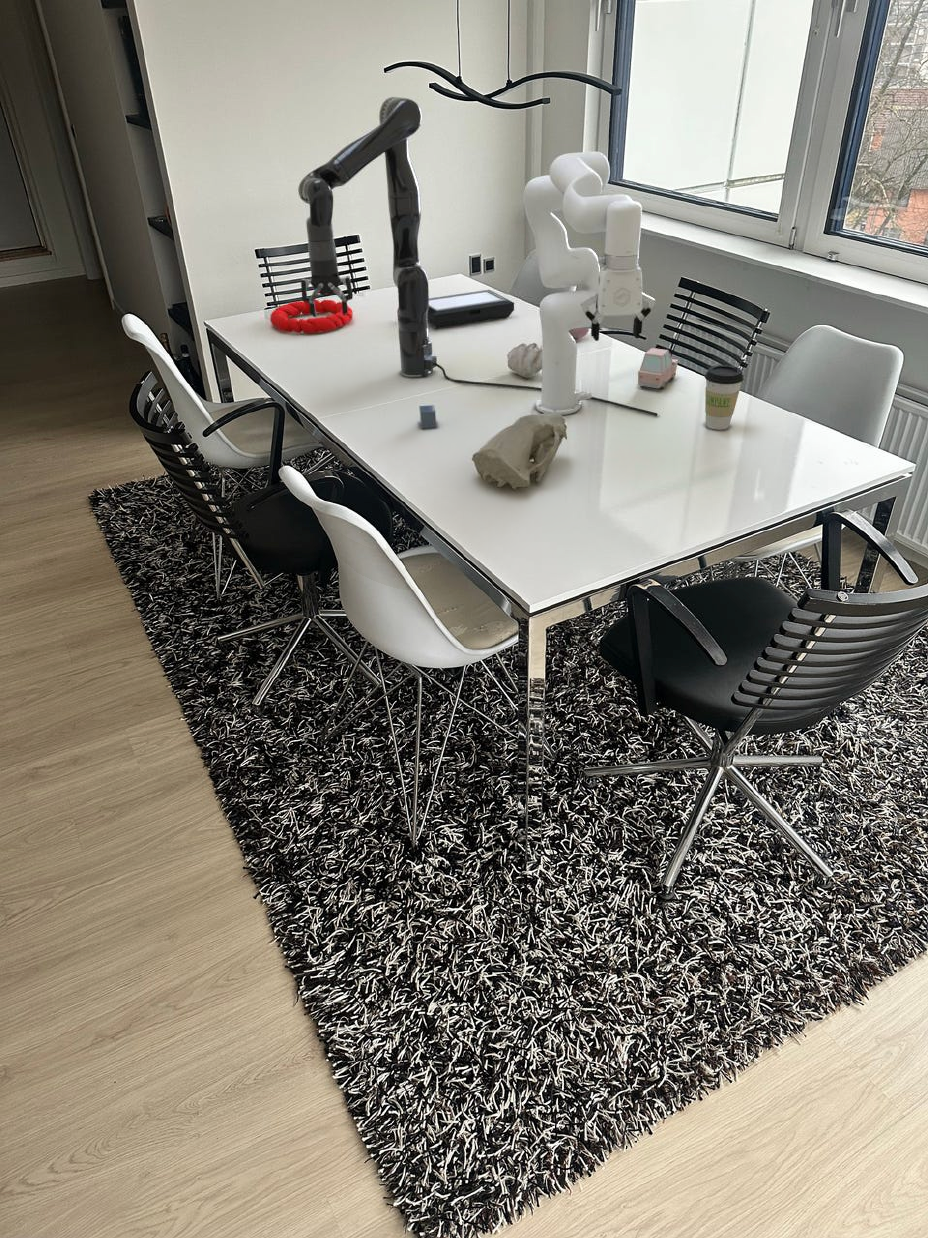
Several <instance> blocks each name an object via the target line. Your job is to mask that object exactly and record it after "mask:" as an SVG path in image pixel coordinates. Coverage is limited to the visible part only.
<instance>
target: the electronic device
mask: <svg viewBox="0 0 928 1238" xmlns="http://www.w3.org/2000/svg"><path fill="white" fill-rule="evenodd" d="M514 311H515V302H513V301H511V300H510V299H508V298H506V297H504V296H502V295H500V294H498V293H497V292H495V291H492V290H491V289H484V290H477V291H470V292H464V293H458V294H457V293H456V294H451V295H444V296H437V297H431V298H430V297H429V308H428V325H431V326H432V327H434V329H436V330H437V329H443V328H448V327H454V326H461V325H467V324H476V323H481V322H487V321H493V320H499V319H507V318H509V317H510V316H511V315H512V313H514Z"/></svg>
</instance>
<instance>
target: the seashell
mask: <svg viewBox="0 0 928 1238" xmlns="http://www.w3.org/2000/svg"><path fill="white" fill-rule="evenodd" d="M506 356H507V367H508V369H510V370H511V371H513V372H515V373H517V374H518V375H519V376H521V377H522V378H526V379H531V378H534V376H536V375H537V374H538V373H539V372H540V371H542V347H540V346H539V345H538V344H537V343H536V342H533V343H530V344H526V343H521V344H519V345H518V346H515V347H513V348H511V350H510V351H508V353H507V355H506Z"/></svg>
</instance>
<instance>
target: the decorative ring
mask: <svg viewBox="0 0 928 1238" xmlns="http://www.w3.org/2000/svg"><path fill="white" fill-rule="evenodd" d="M314 302H315V310H316V313H318V314H328V313H330V315H327V316H321V317H312V318H307V319H304V318H299V320H298V319H297V318H294V317H298V316H300V315H302V314H303V315H311V313H310V305H309V303H307V302H303V301H302V300H297V301H293V302H288V303H287V304H282V305H280V306H278V307H276V308H274V310H273V311H272V312H271V313H270V317H269V318H270V323H271V325H272V326H273V327H274V328H276V329H277V330H279V331H281V332H285V333H292V332H293V333H297V334H299V333H303V334H318V333H326V332H330V331H335V330H337V329H338V328H339V329H340V328H343V327H344V326H346V325H348V324H349V323H350V322H351V321H352V320H353V316H354V315H353V309H352V308H351V307H349V305H348V304H347V308H348V312H347V313H346V315H343V310H342V301H337V302H336V301H335V300H332V299H322V300H319V299H315V300H314ZM290 317H292V318H290Z"/></svg>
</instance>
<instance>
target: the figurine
mask: <svg viewBox="0 0 928 1238" xmlns="http://www.w3.org/2000/svg"><path fill="white" fill-rule="evenodd" d="M589 330H590V327H582V328H575V329H570V330H569V333H570V335H571V336H572V337H573V338H574V340H577V339H582V338H584V337H585V336H586V335H587V334H588V333H589Z"/></svg>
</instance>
